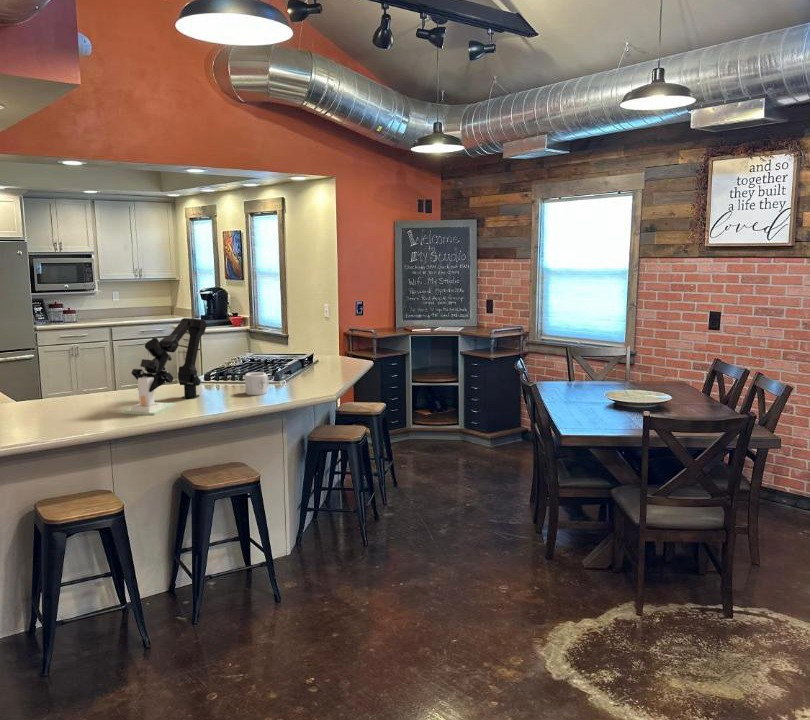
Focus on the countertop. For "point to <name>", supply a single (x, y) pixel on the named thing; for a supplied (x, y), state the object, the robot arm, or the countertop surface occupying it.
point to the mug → (256, 383)
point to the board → (165, 406)
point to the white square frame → (147, 408)
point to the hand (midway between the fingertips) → (144, 391)
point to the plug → (145, 392)
